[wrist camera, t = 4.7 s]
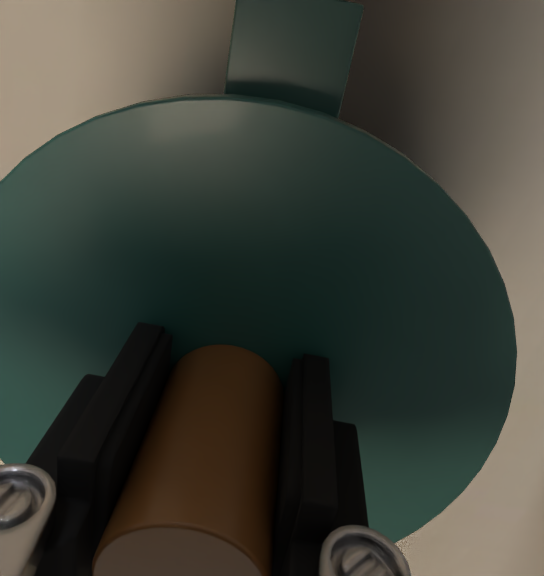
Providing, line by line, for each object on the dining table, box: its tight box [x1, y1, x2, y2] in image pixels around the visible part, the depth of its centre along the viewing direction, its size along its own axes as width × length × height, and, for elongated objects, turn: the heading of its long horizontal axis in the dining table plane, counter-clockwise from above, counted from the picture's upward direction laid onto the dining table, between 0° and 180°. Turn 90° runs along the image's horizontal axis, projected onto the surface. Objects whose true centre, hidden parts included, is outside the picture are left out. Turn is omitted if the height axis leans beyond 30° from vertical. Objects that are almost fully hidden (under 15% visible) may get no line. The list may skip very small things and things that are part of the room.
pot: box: [223, 0, 364, 118], centre depth 17 cm, size 11×17×10 cm
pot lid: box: [0, 94, 517, 576], centre depth 10 cm, size 12×12×6 cm
